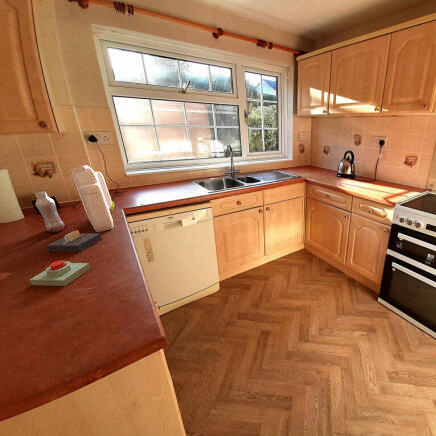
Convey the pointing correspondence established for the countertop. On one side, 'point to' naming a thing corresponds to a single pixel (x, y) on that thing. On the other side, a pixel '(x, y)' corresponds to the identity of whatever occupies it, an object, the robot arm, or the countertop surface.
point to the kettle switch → (57, 265)
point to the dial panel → (74, 243)
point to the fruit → (111, 207)
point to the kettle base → (60, 274)
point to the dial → (72, 236)
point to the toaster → (94, 197)
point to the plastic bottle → (49, 212)
